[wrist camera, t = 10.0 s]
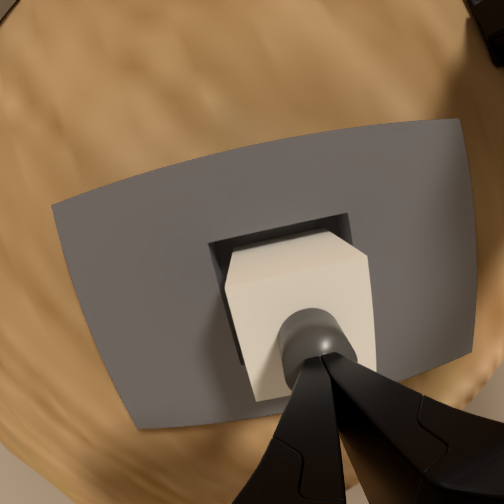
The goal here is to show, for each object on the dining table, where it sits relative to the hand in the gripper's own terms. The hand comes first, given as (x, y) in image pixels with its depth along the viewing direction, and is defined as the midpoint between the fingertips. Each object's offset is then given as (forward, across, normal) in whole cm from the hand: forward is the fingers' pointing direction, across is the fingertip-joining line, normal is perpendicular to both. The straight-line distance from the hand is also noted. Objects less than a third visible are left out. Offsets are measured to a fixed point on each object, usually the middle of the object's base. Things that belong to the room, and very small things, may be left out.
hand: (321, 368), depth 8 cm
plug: (+8, 0, 0) cm, 8 cm away
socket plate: (+8, 0, 0) cm, 8 cm away
